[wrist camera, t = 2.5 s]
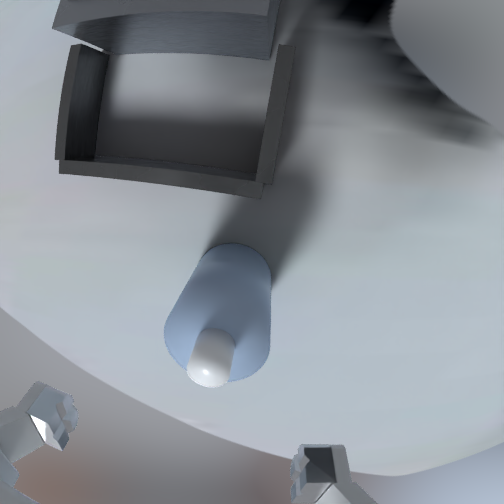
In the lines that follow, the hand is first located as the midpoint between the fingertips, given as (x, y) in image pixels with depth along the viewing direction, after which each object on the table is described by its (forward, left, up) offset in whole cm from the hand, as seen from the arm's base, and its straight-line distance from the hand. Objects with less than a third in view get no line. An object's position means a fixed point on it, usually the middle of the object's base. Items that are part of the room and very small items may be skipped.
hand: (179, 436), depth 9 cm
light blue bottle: (0, 0, -12) cm, 12 cm away
